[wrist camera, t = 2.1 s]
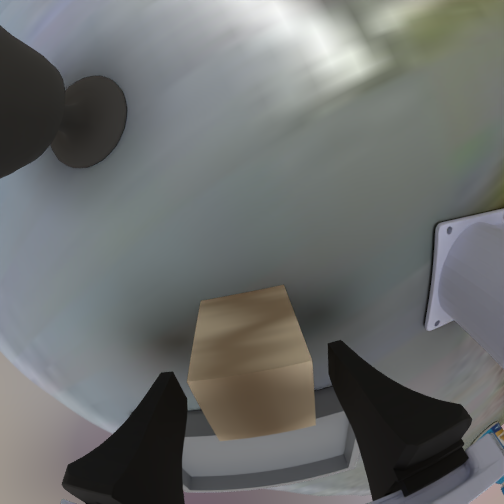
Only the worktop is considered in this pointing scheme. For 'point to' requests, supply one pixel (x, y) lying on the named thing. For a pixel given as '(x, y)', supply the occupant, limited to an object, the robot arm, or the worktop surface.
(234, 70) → the worktop surface
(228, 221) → the worktop surface
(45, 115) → the sundae
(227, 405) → the block
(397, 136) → the worktop surface
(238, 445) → the tray
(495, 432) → the beverage bottle
